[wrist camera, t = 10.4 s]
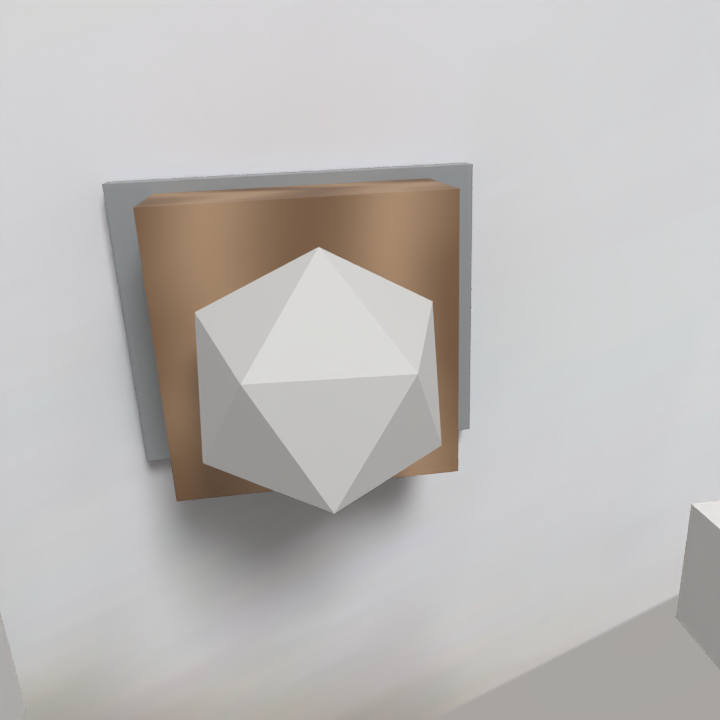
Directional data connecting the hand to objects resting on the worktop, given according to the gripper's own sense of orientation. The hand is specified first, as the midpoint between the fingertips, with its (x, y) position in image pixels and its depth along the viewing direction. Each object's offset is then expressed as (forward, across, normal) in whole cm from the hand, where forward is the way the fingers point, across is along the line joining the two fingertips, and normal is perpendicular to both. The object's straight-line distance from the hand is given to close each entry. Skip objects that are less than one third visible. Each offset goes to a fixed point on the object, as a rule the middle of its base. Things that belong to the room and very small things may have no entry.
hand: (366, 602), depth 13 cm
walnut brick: (+20, 0, 0) cm, 20 cm away
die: (+15, 0, 0) cm, 15 cm away
